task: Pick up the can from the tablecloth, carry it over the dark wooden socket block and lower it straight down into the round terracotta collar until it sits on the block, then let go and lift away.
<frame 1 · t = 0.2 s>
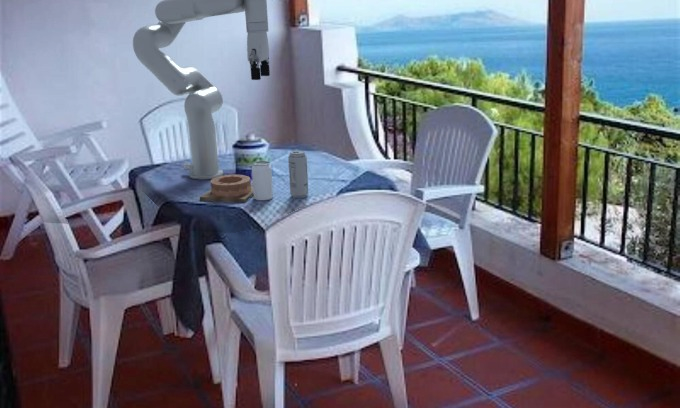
hand: (260, 77, 256), 36 cm above the table, tool pointing down, fingers open, 9 cm apart
socket block: (231, 194, 248), on the table
energy drink can: (299, 196, 244), on the table
can: (263, 198, 243), on the table
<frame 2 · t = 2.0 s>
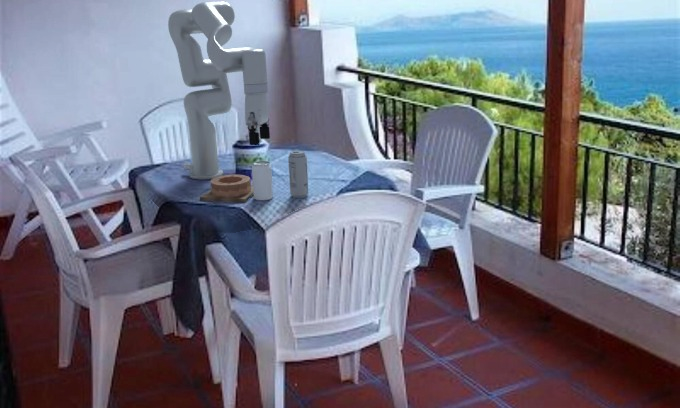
hand: (260, 141, 237), 19 cm above the table, tool pointing down, fingers open, 9 cm apart
nothing on the table moved.
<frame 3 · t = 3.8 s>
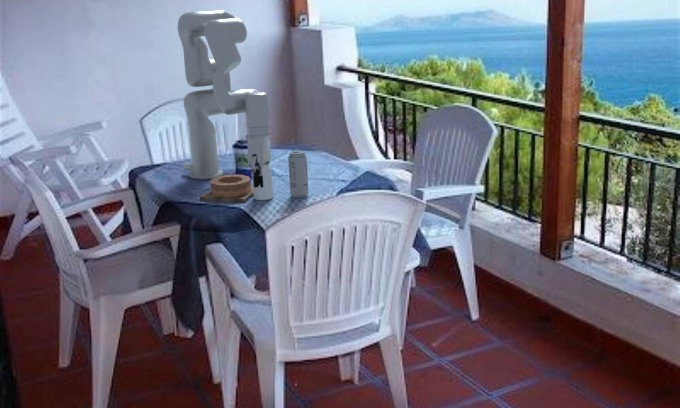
hand: (262, 183, 242), 5 cm above the table, tool pointing down, fingers closed on can, 5 cm apart
can: (263, 198, 243), on the table, touching gripper
everything else where it was.
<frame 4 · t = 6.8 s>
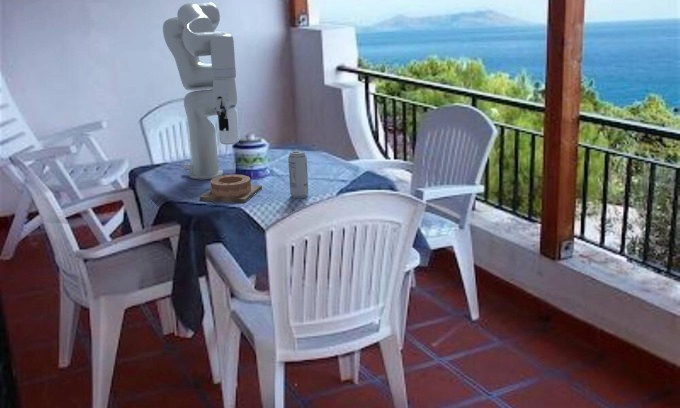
hand: (227, 127, 241), 23 cm above the table, tool pointing down, fingers closed on can, 5 cm apart
can: (229, 142, 243), point 18 cm above the table, touching gripper
everything else where it was.
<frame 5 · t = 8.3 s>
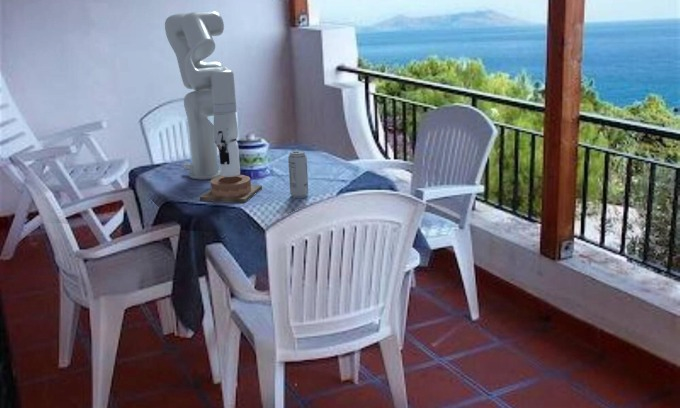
hand: (228, 161, 245), 12 cm above the table, tool pointing down, fingers closed on can, 5 cm apart
can: (230, 175, 246), point 7 cm above the table, touching gripper
everything else where it was.
when the fingers open (7 cm above the table, at t = 9.8 s): can stays where it is, resting on socket block.
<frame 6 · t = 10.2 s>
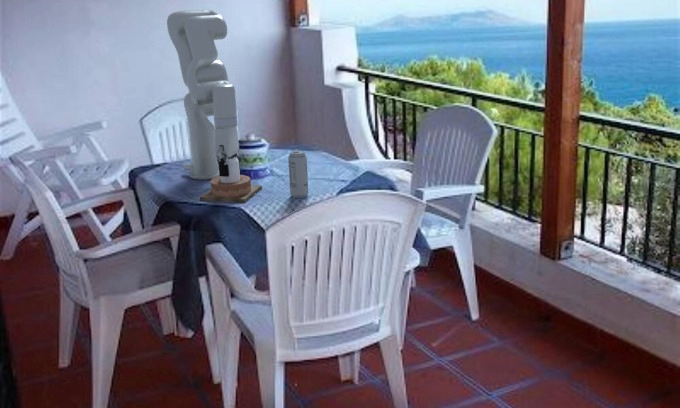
hand: (229, 172, 246), 8 cm above the table, tool pointing down, fingers open, 9 cm apart
can: (231, 191, 248), point 1 cm above the table, touching socket block
everything else where it was.
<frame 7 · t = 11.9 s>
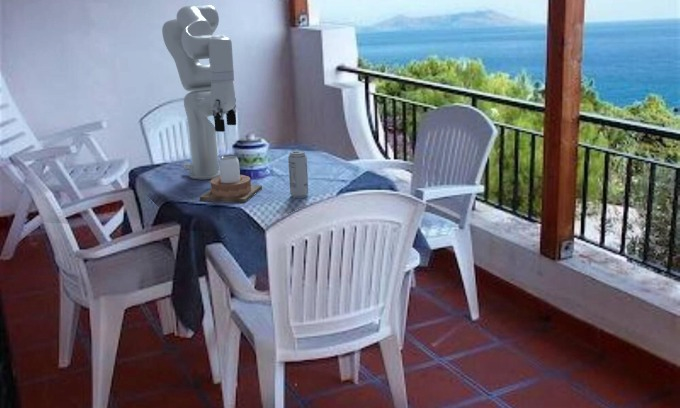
hand: (226, 128, 243), 23 cm above the table, tool pointing down, fingers open, 9 cm apart
nothing on the table moved.
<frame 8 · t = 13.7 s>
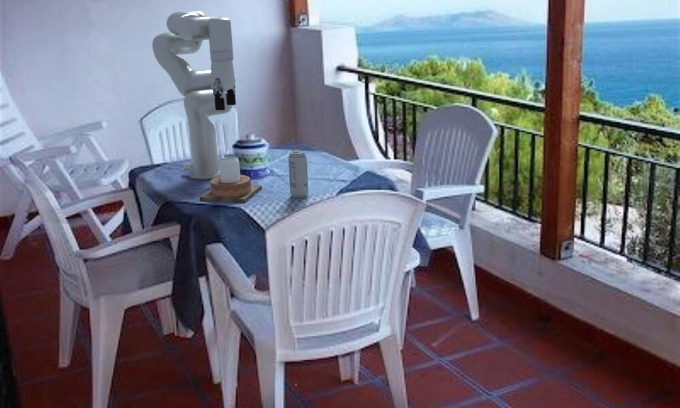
hand: (225, 107, 248), 28 cm above the table, tool pointing down, fingers open, 9 cm apart
nothing on the table moved.
at the end: can 0.1 cm off-centre on the socket block, point 1.0 cm above the socket block's base; can tilted 0°; the gripper is holding nothing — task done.
